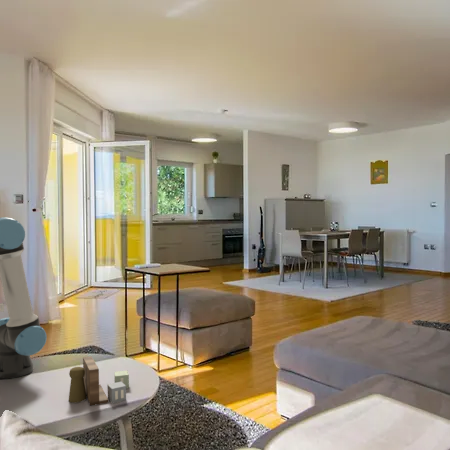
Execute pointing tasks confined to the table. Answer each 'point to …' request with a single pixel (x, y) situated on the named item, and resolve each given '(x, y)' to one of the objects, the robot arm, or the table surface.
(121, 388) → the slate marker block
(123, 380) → the sage marker block
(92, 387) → the backstop board
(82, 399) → the cork
